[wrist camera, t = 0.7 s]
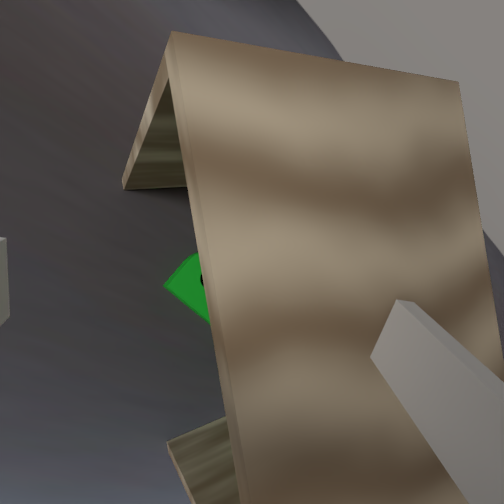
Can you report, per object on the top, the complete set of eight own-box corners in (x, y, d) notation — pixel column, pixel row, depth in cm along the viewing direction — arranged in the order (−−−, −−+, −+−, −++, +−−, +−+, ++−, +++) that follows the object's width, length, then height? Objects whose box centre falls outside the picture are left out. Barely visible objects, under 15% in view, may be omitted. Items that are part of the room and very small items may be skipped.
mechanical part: (280, 311, 35) (329, 320, 28) (250, 357, 33) (293, 380, 26) (202, 239, 32) (234, 228, 24) (162, 285, 29) (184, 289, 22)
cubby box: (121, 178, 28) (171, 30, 11) (286, 172, 37) (458, 81, 20) (168, 452, 28) (286, 713, 11) (321, 383, 37) (522, 475, 20)
